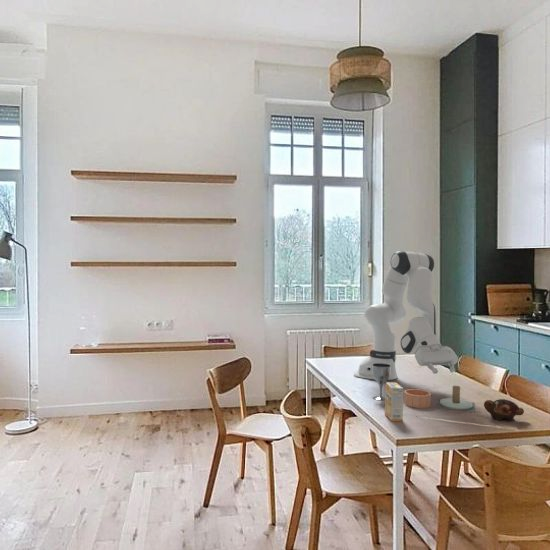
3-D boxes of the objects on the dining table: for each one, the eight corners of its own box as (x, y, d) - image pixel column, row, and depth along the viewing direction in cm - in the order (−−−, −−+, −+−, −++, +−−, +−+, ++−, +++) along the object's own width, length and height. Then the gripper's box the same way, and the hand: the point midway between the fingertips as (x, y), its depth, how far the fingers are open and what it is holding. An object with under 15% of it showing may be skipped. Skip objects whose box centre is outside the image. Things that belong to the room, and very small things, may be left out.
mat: (436, 409, 205) (436, 407, 205) (438, 399, 219) (438, 398, 219) (475, 413, 200) (475, 412, 200) (474, 404, 214) (474, 402, 214)
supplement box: (384, 414, 197) (385, 382, 196) (395, 414, 197) (396, 382, 197) (390, 421, 188) (391, 387, 188) (403, 421, 189) (403, 387, 188)
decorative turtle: (478, 416, 197) (479, 396, 197) (514, 416, 198) (515, 396, 198) (490, 424, 188) (491, 403, 187) (528, 424, 189) (529, 403, 188)
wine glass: (379, 401, 214) (380, 367, 214) (367, 397, 222) (368, 363, 221) (393, 399, 218) (394, 366, 218) (381, 395, 225) (382, 362, 225)
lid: (439, 407, 206) (439, 388, 205) (440, 399, 218) (440, 381, 218) (472, 411, 201) (473, 391, 201) (471, 402, 213) (472, 384, 213)
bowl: (402, 407, 207) (402, 394, 207) (405, 400, 217) (405, 387, 217) (429, 410, 203) (430, 397, 203) (431, 403, 214) (431, 390, 213)
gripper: (445, 349, 231) (459, 375, 222) (409, 351, 223) (422, 377, 214) (452, 341, 227) (467, 367, 218) (415, 342, 219) (429, 369, 210)
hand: (444, 372), depth 216 cm, fingers open, 8 cm apart
